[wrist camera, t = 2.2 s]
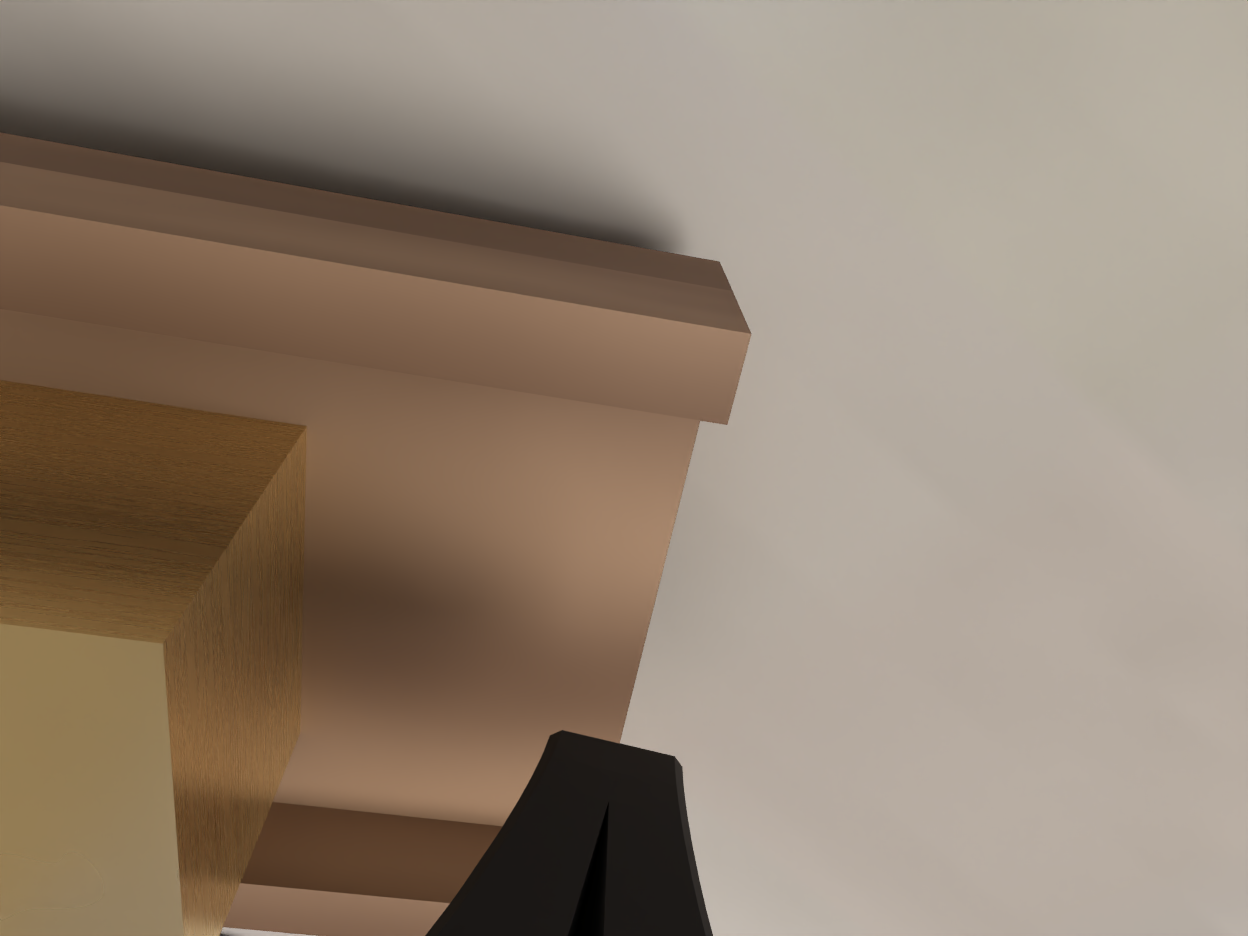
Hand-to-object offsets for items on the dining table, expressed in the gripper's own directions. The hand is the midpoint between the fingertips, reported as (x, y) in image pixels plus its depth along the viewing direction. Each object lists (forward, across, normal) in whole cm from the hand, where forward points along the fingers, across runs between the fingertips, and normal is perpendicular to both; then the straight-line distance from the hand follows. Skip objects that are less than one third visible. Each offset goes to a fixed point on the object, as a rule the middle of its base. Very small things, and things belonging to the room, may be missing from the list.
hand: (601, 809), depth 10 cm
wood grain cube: (+2, +7, 0) cm, 7 cm away
